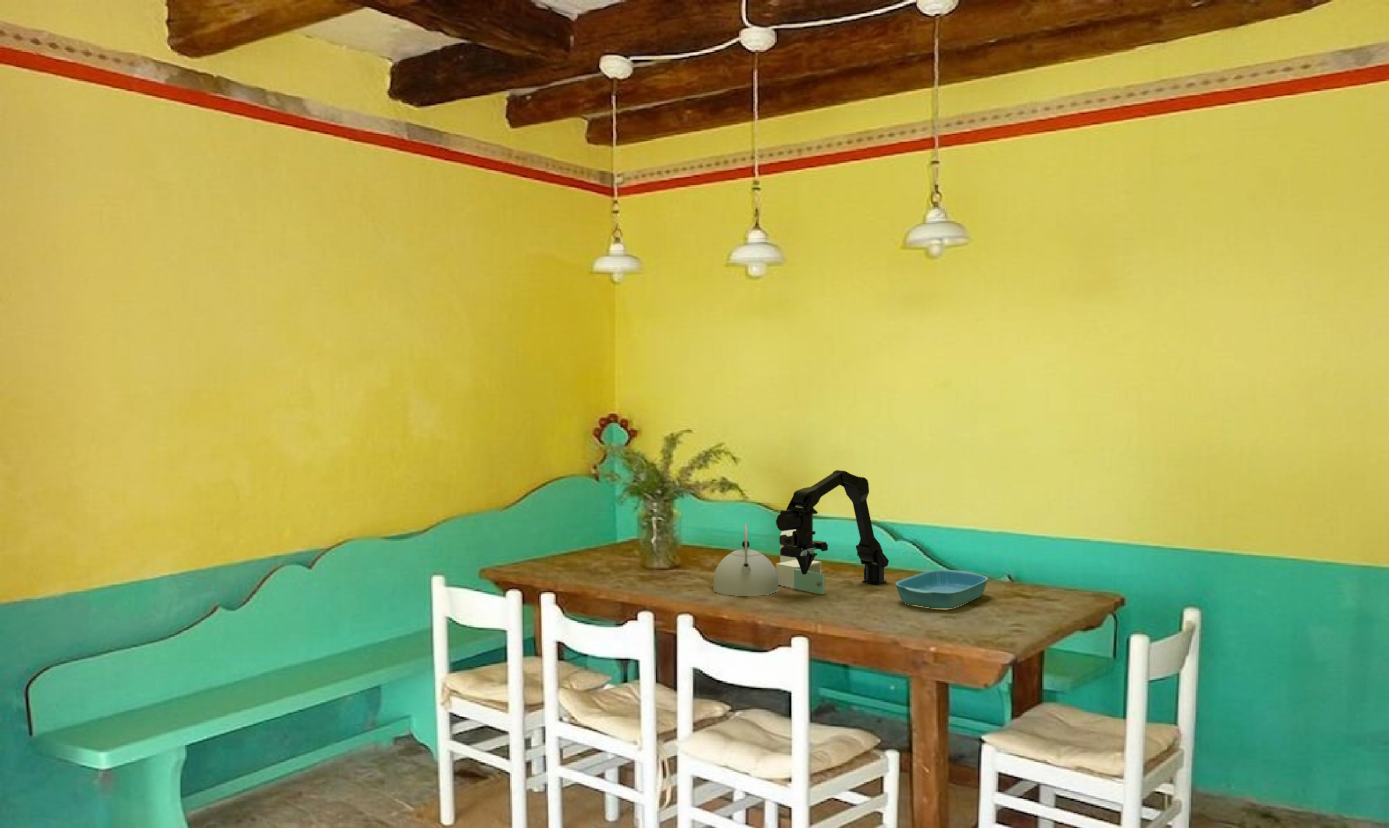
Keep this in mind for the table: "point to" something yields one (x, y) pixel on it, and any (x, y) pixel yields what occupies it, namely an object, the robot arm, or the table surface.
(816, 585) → the door
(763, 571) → the kettle
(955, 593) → the casserole dish
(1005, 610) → the table surface
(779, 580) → the cupboard
